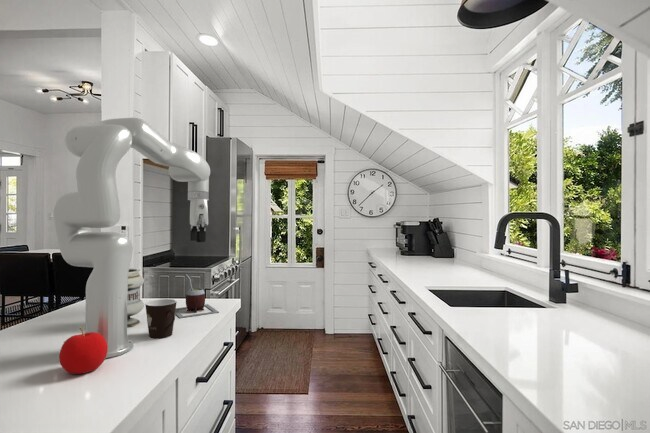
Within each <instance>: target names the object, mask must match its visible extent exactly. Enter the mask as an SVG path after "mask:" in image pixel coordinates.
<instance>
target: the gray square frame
mask: <svg viewBox="0 0 650 433" xmlns="http://www.w3.org/2000/svg"><path fill="white" fill-rule="evenodd" d="M204 307H206V308H207V309H208V310H210V311H208V312H202V310H201V311H199V312H200V313H194V311H188V312H187V313H188V314H186V315H183V314H182V313H181V312H180V311H179V310H185V309H186V310H187V307H186V306H184V307H176V310H175V316H176V317H177V318H179V319H183V318H186V319H187V318H192V317H193V318H194V317H199V316H205V315H212V314H219V313H220V311H218V310H217V309H215V308H214V307H213V306H211V305H210V304H208V303H205V304H204ZM193 313H194V314H193Z"/></svg>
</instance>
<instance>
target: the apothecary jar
mask: <svg viewBox="0 0 650 433" xmlns="http://www.w3.org/2000/svg"><path fill="white" fill-rule="evenodd" d="M144 283H145V279H144V277H143V276H142V275H140V271H139V269H138V268H130V267H129V272H128V301H127V328H129V327H130V328H131V327H135V326H137V325H139V324H140V323H141V321H140V320H139V319H138V318H135V317H132V316H135V315H138V314H139V313H140V312H142V310H144V307H145V304H144V303H145V302H144V301H143V300H142V299H141V287H142V286H143V285H144Z"/></svg>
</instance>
